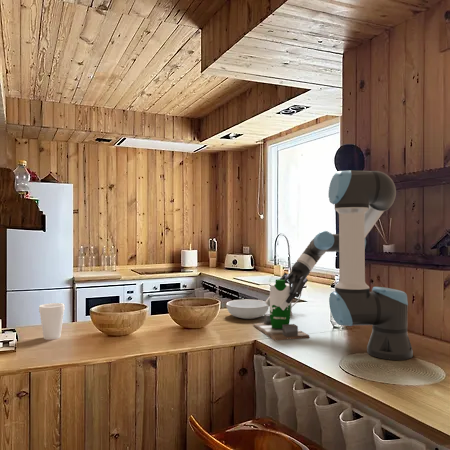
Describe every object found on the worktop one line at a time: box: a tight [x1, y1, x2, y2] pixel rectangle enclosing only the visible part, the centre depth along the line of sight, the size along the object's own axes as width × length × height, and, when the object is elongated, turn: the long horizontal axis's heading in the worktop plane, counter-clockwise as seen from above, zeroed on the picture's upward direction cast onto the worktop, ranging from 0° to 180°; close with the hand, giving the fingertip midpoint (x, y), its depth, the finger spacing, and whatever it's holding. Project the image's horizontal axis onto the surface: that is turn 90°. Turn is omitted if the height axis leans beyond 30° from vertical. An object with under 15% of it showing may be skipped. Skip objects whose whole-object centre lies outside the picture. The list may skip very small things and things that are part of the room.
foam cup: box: [38, 302, 66, 341], centre depth 180 cm, size 10×9×13 cm
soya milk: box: [269, 278, 292, 328], centre depth 191 cm, size 9×9×20 cm
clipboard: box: [252, 313, 310, 341], centre depth 191 cm, size 25×15×5 cm, turn 16°
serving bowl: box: [225, 298, 270, 320], centre depth 220 cm, size 21×21×7 cm
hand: (274, 306), depth 189 cm, fingers closed on soya milk, 9 cm apart
